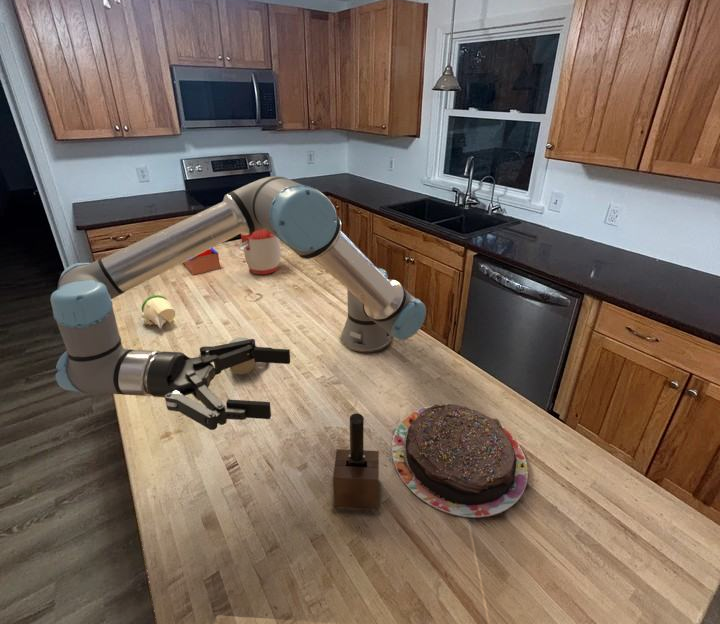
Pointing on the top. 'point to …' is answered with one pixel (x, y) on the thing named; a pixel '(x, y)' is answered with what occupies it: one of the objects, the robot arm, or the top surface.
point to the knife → (356, 441)
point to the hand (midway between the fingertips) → (280, 381)
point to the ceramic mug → (247, 365)
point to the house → (203, 262)
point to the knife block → (356, 481)
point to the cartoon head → (157, 310)
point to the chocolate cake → (460, 461)
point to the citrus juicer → (261, 251)
